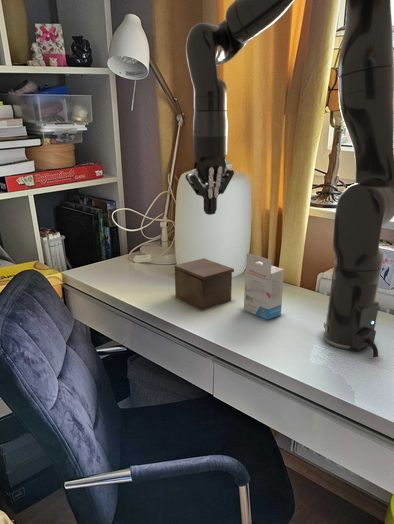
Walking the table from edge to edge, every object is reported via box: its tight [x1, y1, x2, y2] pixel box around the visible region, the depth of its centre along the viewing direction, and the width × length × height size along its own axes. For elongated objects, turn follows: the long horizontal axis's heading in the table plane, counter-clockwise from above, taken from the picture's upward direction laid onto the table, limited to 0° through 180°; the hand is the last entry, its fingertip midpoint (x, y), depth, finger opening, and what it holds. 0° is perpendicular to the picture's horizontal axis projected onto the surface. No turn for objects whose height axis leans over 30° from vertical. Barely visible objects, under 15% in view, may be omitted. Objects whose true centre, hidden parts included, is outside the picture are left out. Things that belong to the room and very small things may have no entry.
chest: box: [174, 268, 233, 311], centre depth 124 cm, size 12×10×8 cm
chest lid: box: [174, 257, 235, 280], centre depth 121 cm, size 12×10×1 cm
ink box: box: [243, 252, 285, 321], centre depth 114 cm, size 8×5×15 cm, turn 39°
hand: (210, 213), depth 113 cm, fingers closed
